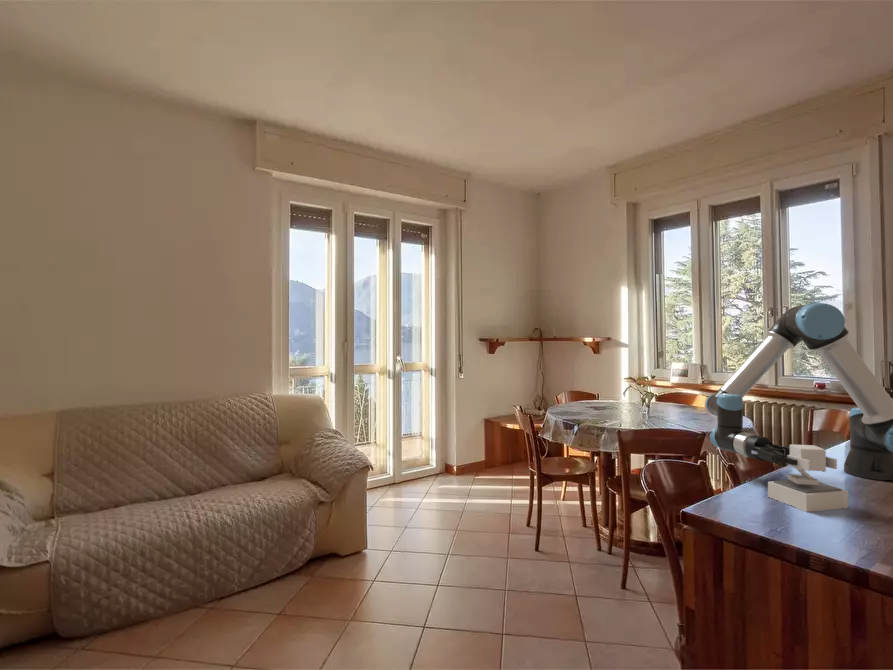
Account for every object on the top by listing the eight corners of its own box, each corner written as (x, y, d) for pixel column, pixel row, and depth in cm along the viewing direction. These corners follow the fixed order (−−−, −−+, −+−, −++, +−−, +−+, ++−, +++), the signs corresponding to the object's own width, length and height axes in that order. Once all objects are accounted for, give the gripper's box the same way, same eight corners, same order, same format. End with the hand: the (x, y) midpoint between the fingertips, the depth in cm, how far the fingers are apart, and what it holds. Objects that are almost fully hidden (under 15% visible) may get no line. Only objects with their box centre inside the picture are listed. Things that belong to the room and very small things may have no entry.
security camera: (826, 485, 131) (826, 449, 131) (797, 484, 133) (797, 448, 133) (813, 479, 137) (813, 444, 137) (786, 477, 139) (786, 443, 139)
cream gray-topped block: (807, 494, 142) (807, 477, 142) (848, 508, 131) (848, 489, 131) (767, 497, 140) (767, 480, 140) (806, 511, 128) (806, 493, 128)
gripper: (780, 456, 155) (853, 476, 133) (726, 459, 151) (791, 480, 128) (780, 433, 155) (853, 449, 133) (725, 436, 151) (791, 453, 128)
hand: (822, 464), depth 130 cm, fingers closed on security camera, 8 cm apart
